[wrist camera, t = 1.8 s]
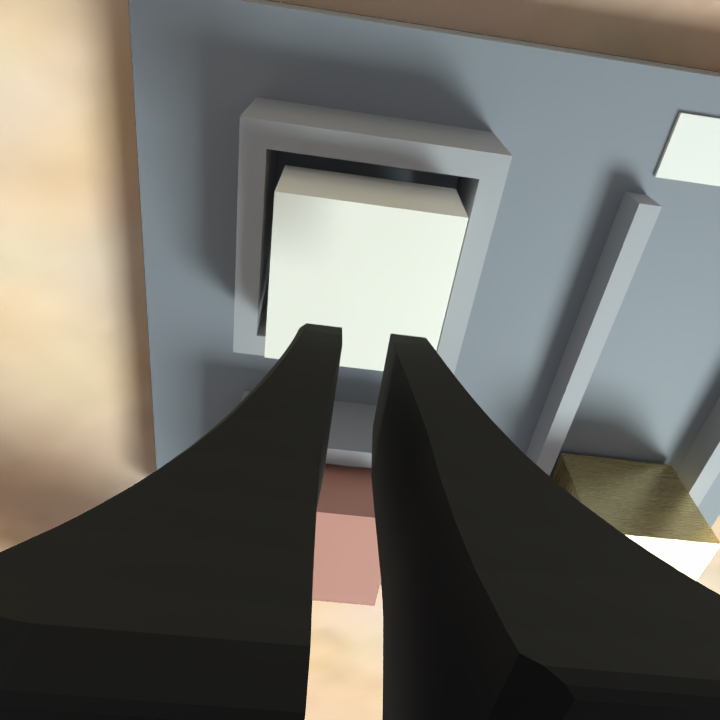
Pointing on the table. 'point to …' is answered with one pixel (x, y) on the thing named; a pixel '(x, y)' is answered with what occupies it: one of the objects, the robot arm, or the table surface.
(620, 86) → the panel
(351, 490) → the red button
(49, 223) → the table surface
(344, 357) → the cream button
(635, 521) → the slider knob
